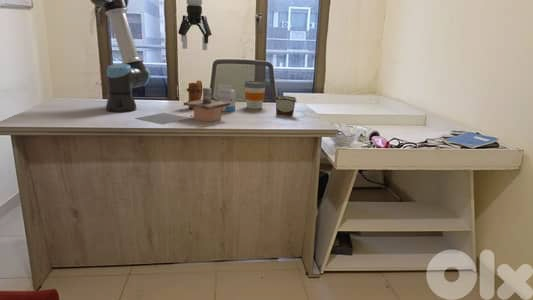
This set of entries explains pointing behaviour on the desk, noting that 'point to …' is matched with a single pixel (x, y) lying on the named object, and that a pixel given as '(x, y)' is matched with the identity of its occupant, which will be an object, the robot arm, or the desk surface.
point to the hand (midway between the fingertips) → (194, 49)
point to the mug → (195, 92)
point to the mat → (162, 118)
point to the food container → (285, 105)
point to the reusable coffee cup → (254, 94)
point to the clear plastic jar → (227, 97)
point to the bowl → (207, 114)
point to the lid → (206, 101)
